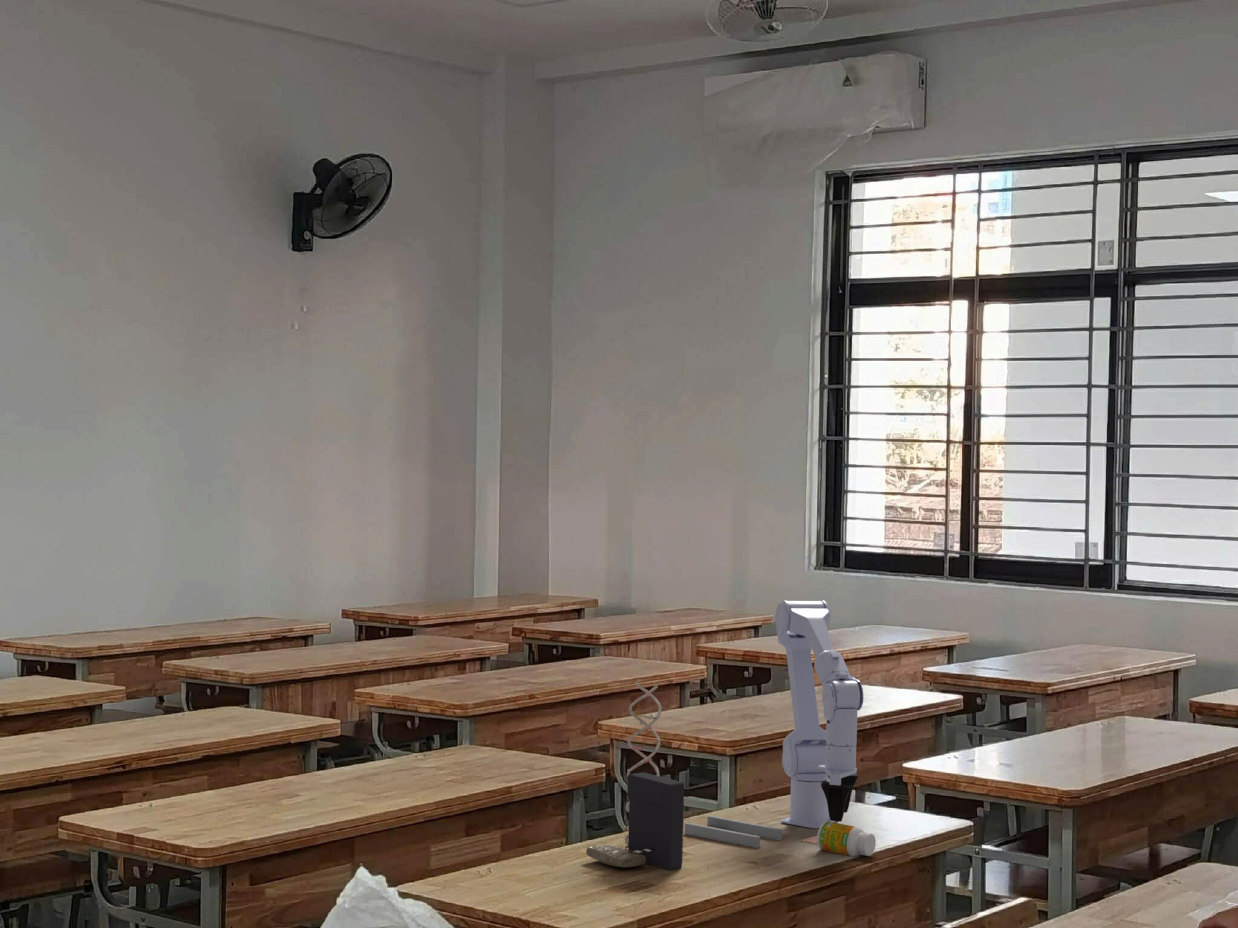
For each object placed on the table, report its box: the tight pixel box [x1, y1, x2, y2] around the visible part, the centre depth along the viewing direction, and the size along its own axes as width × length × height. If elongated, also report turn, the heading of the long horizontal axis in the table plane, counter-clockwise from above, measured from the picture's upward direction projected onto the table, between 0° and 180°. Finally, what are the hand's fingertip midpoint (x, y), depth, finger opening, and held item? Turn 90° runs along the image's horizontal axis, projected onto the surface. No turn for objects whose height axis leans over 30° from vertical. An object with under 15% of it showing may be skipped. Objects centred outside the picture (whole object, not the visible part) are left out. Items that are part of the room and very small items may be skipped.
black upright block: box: [626, 771, 685, 872], centre depth 273 cm, size 11×4×15 cm, turn 42°
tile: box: [801, 834, 818, 845], centre depth 292 cm, size 10×10×1 cm
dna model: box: [624, 681, 663, 846], centre depth 283 cm, size 7×6×30 cm
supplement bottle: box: [816, 821, 877, 857], centre depth 283 cm, size 5×5×10 cm
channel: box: [684, 815, 783, 848], centre depth 294 cm, size 9×16×2 cm, turn 54°
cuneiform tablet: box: [586, 844, 656, 868], centre depth 270 cm, size 6×4×12 cm
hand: (838, 816), depth 292 cm, fingers open, 7 cm apart
